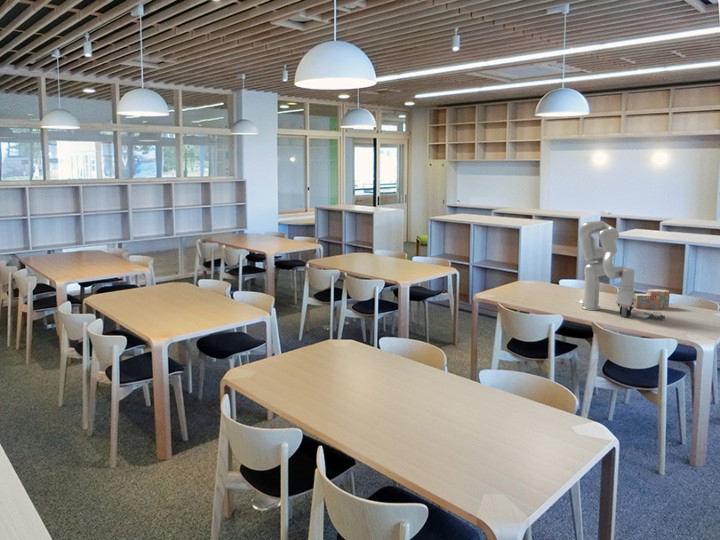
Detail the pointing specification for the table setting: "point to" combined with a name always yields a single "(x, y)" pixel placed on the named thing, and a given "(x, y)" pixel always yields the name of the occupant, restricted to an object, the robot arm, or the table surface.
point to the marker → (624, 311)
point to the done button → (657, 314)
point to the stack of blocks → (653, 299)
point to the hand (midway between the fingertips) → (625, 314)
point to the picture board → (640, 314)
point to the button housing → (656, 317)
